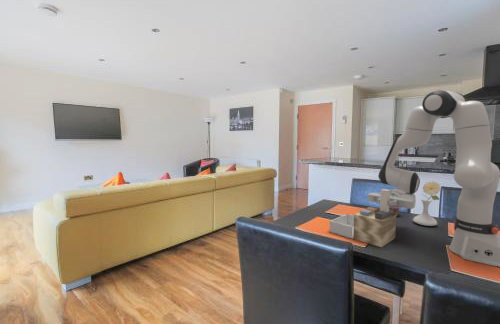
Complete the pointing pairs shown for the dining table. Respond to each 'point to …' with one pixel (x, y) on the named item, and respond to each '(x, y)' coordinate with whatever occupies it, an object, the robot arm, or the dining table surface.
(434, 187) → the flower in vase
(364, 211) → the slate tile
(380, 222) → the wooden grain block
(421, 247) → the dining table surface
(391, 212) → the scraper
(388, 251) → the dining table surface
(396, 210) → the cupcake
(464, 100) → the robot arm
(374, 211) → the terracotta tile
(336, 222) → the box
